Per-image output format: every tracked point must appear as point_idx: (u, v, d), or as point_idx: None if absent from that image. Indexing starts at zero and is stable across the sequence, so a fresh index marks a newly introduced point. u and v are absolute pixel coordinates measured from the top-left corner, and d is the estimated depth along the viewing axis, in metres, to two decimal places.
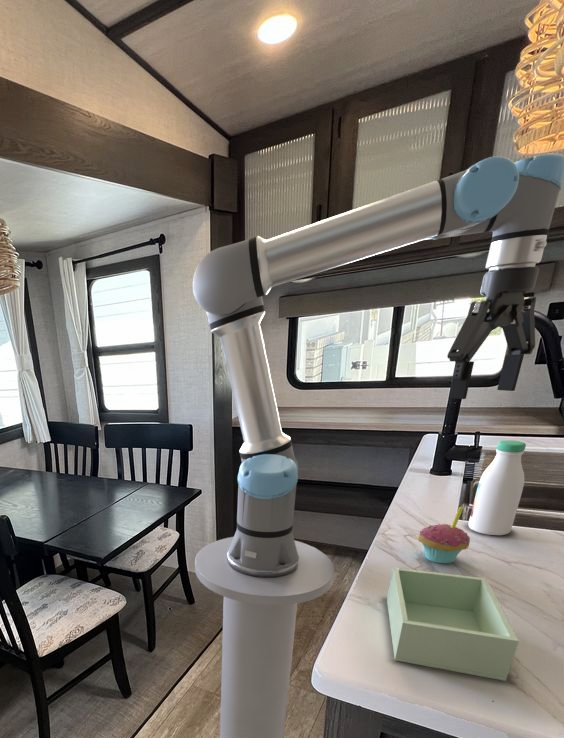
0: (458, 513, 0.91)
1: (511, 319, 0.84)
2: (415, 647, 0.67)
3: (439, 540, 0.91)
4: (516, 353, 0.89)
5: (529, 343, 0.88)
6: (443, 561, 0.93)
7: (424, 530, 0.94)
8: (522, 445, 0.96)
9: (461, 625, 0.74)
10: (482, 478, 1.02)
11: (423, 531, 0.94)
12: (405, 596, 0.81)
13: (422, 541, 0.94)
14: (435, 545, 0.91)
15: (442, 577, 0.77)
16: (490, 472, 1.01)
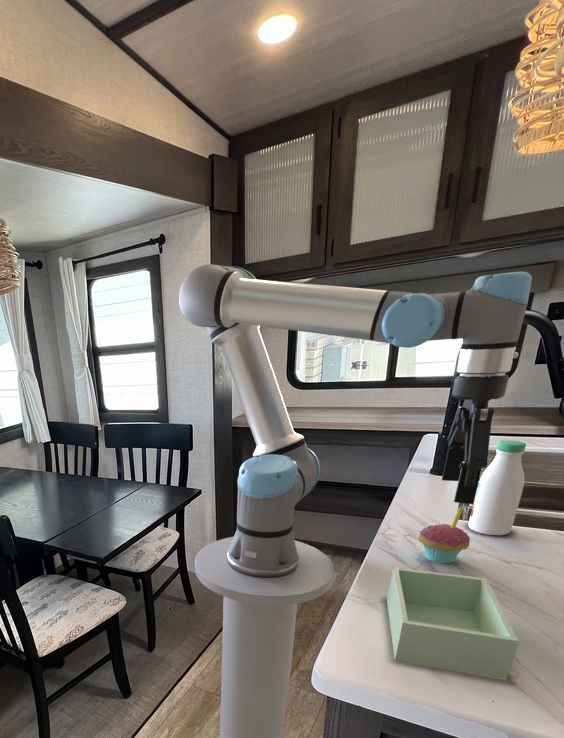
0: (458, 513, 0.91)
1: None
2: (415, 647, 0.67)
3: (439, 540, 0.91)
4: (456, 447, 0.92)
5: None
6: (443, 561, 0.93)
7: (424, 530, 0.94)
8: (522, 445, 0.96)
9: (461, 625, 0.74)
10: (482, 478, 1.02)
11: (423, 531, 0.94)
12: (405, 596, 0.81)
13: (422, 541, 0.94)
14: (435, 545, 0.91)
15: (442, 577, 0.77)
16: (490, 472, 1.01)
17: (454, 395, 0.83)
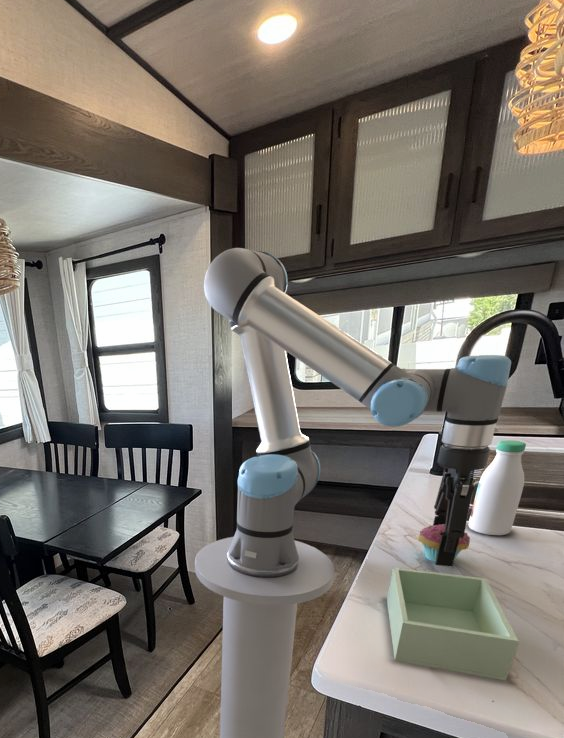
0: None
1: None
2: (415, 647, 0.67)
3: (439, 540, 0.91)
4: (443, 515, 0.96)
5: None
6: None
7: (424, 530, 0.94)
8: (522, 445, 0.96)
9: (461, 625, 0.74)
10: (482, 478, 1.02)
11: (423, 531, 0.94)
12: (405, 596, 0.81)
13: (422, 541, 0.94)
14: (435, 545, 0.91)
15: (442, 577, 0.77)
16: (490, 472, 1.01)
17: (439, 463, 0.88)
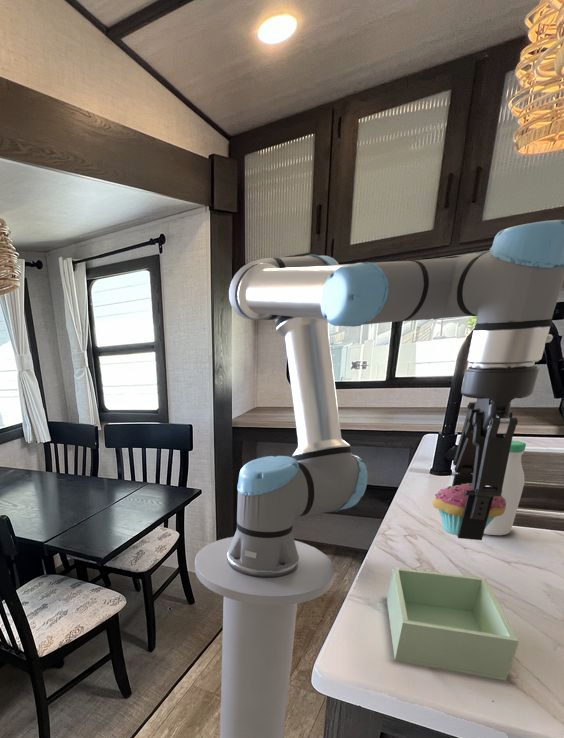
0: None
1: None
2: (415, 647, 0.67)
3: (464, 503, 0.65)
4: (466, 472, 0.70)
5: None
6: None
7: (441, 492, 0.69)
8: (522, 445, 0.96)
9: (461, 625, 0.74)
10: None
11: (440, 493, 0.69)
12: (405, 596, 0.81)
13: (439, 506, 0.68)
14: (458, 511, 0.65)
15: (442, 577, 0.77)
16: None
17: (464, 393, 0.62)
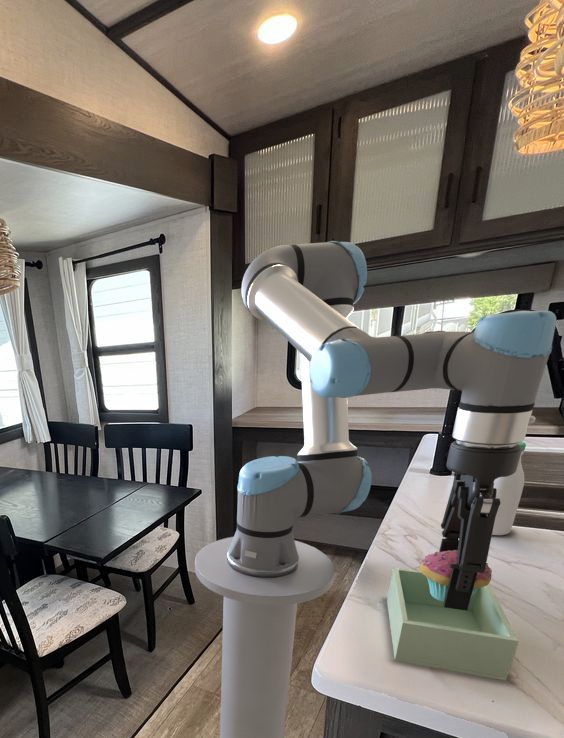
0: None
1: None
2: (415, 647, 0.67)
3: (450, 573, 0.66)
4: (453, 537, 0.71)
5: None
6: None
7: (428, 558, 0.69)
8: (522, 445, 0.96)
9: (461, 625, 0.74)
10: None
11: (427, 560, 0.69)
12: (405, 596, 0.81)
13: (426, 574, 0.69)
14: (444, 581, 0.66)
15: None
16: None
17: (449, 467, 0.63)
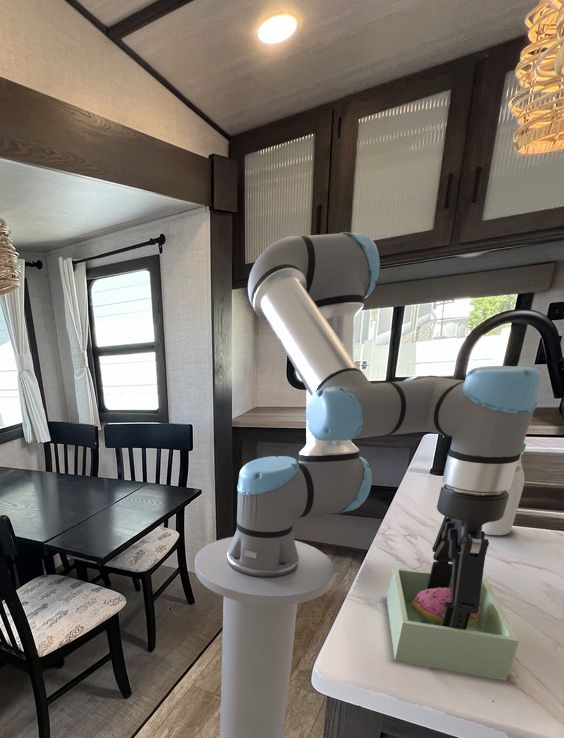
0: None
1: None
2: (415, 647, 0.67)
3: (440, 612, 0.68)
4: (443, 561, 0.75)
5: None
6: None
7: (420, 596, 0.72)
8: None
9: None
10: None
11: (419, 597, 0.72)
12: (405, 596, 0.81)
13: (417, 611, 0.71)
14: (434, 619, 0.69)
15: None
16: None
17: (439, 510, 0.65)
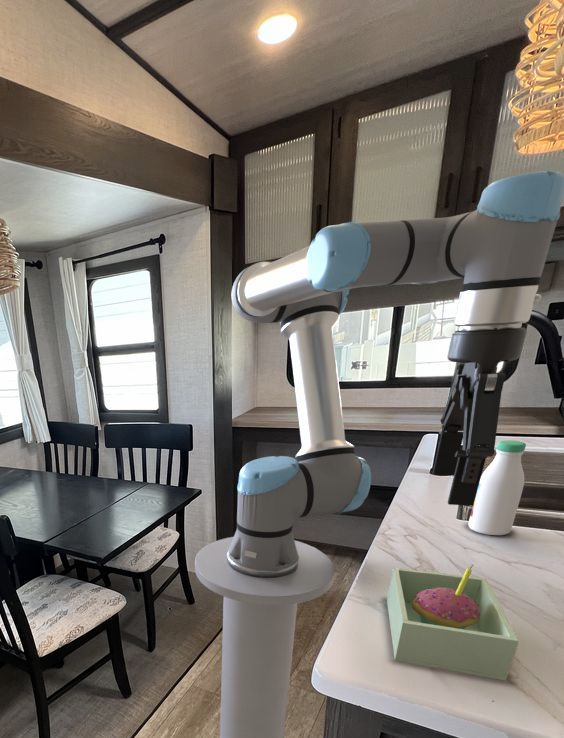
0: (465, 576, 0.68)
1: None
2: (415, 647, 0.67)
3: (440, 612, 0.68)
4: (452, 430, 0.70)
5: None
6: None
7: (420, 596, 0.72)
8: (522, 445, 0.96)
9: None
10: (482, 478, 1.02)
11: (419, 597, 0.72)
12: (405, 596, 0.81)
13: (417, 611, 0.71)
14: (434, 619, 0.69)
15: (442, 577, 0.77)
16: (490, 472, 1.01)
17: (450, 357, 0.60)
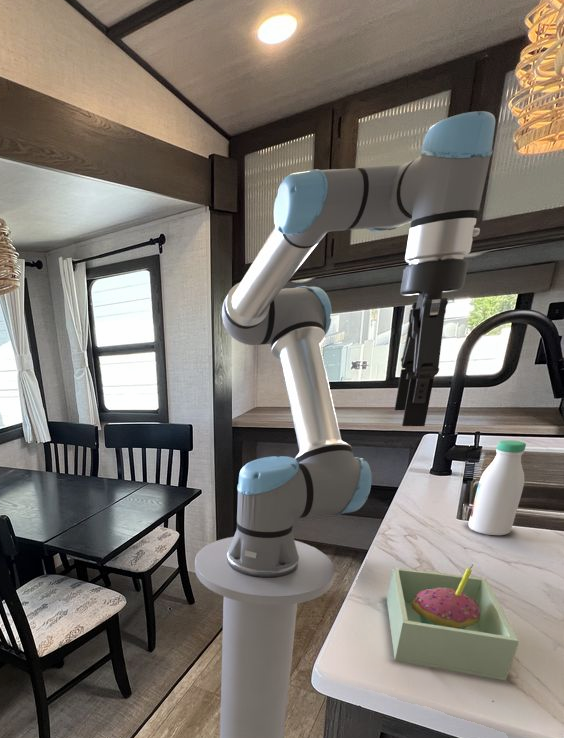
0: (465, 576, 0.68)
1: None
2: (415, 647, 0.67)
3: (440, 612, 0.68)
4: (411, 367, 0.76)
5: None
6: None
7: (420, 596, 0.72)
8: (522, 445, 0.96)
9: None
10: (482, 478, 1.02)
11: (419, 597, 0.72)
12: (405, 596, 0.81)
13: (417, 611, 0.71)
14: (434, 619, 0.69)
15: (442, 577, 0.77)
16: (490, 472, 1.01)
17: (402, 290, 0.66)
